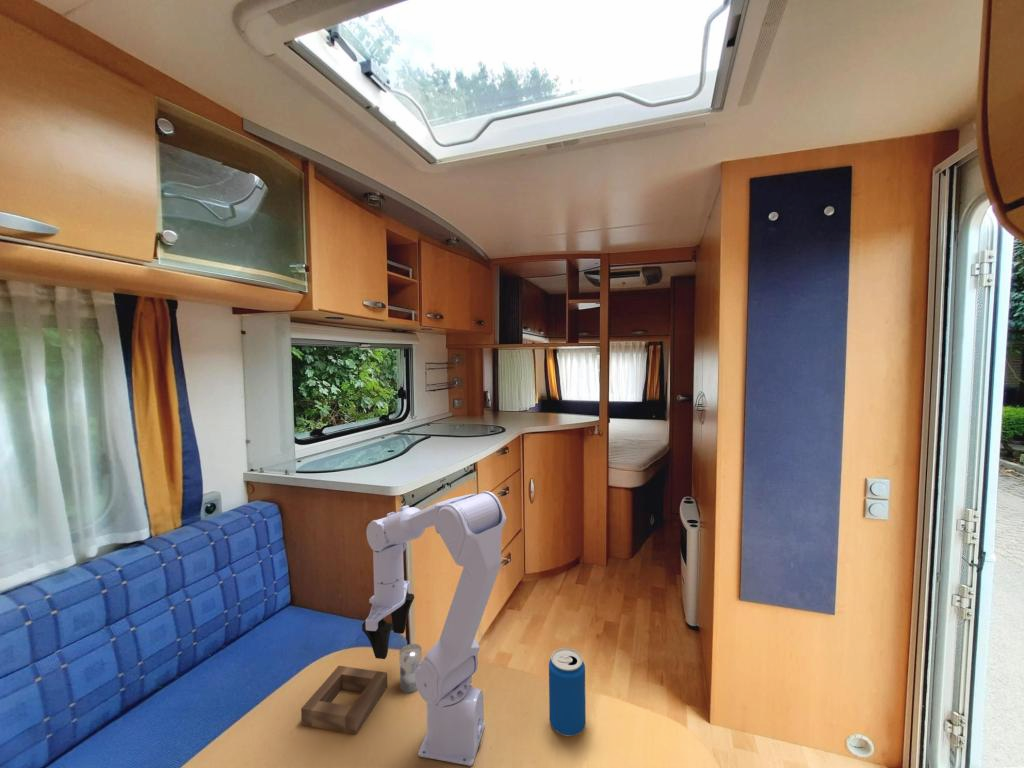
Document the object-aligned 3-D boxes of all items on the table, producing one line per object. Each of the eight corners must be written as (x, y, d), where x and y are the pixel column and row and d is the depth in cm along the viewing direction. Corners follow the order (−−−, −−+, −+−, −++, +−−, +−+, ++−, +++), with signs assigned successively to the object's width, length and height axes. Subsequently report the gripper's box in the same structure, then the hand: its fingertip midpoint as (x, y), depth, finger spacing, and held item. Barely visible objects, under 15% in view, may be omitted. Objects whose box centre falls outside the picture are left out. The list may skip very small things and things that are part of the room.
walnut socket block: (387, 687, 82) (387, 672, 82) (356, 734, 71) (355, 717, 71) (339, 679, 84) (338, 665, 84) (301, 724, 73) (301, 708, 73)
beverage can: (585, 742, 69) (584, 673, 68) (547, 736, 70) (546, 668, 70) (586, 711, 75) (585, 648, 75) (551, 706, 76) (550, 644, 76)
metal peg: (425, 678, 84) (425, 645, 84) (416, 694, 80) (415, 659, 80) (406, 675, 85) (405, 642, 85) (396, 691, 81) (395, 657, 80)
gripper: (388, 559, 88) (389, 620, 88) (349, 594, 74) (351, 667, 74) (418, 561, 87) (419, 623, 87) (385, 598, 73) (386, 672, 73)
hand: (390, 644), depth 81 cm, fingers open, 7 cm apart
